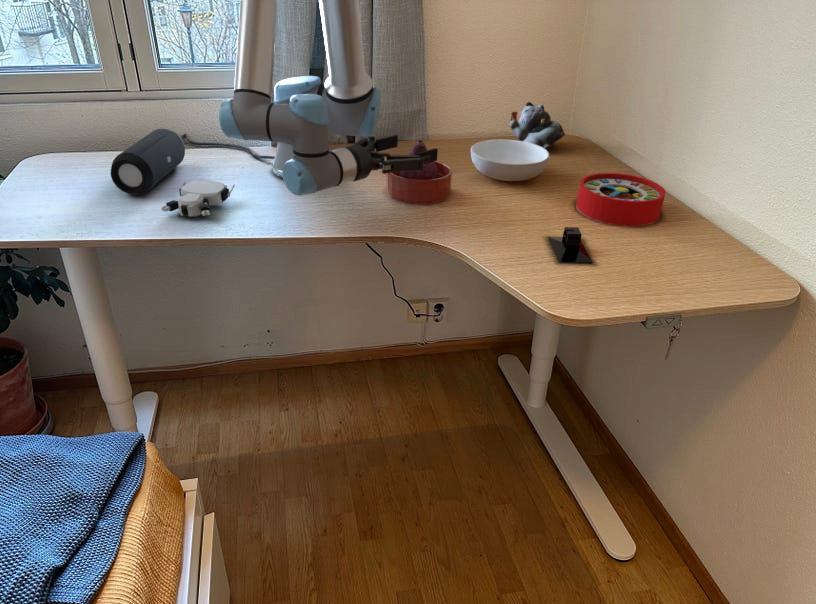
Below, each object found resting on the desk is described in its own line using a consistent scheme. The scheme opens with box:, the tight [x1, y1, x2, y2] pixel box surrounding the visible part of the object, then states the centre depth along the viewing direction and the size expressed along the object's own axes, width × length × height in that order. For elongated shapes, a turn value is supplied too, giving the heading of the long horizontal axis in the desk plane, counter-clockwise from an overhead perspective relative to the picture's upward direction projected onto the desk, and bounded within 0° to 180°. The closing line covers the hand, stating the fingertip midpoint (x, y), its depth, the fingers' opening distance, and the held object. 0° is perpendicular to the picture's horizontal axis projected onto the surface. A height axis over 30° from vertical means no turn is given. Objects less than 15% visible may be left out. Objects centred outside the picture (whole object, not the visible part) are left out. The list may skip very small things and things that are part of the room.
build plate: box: [547, 226, 594, 265], centre depth 139 cm, size 12×7×5 cm, turn 1°
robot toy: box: [160, 179, 236, 218], centre depth 150 cm, size 12×4×15 cm
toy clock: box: [575, 172, 666, 227], centre depth 159 cm, size 20×6×20 cm
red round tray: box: [385, 160, 453, 205], centre depth 163 cm, size 16×16×6 cm
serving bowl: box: [470, 138, 550, 182], centre depth 176 cm, size 21×21×7 cm
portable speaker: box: [110, 128, 186, 195], centre depth 163 cm, size 26×10×10 cm, turn 176°
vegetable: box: [399, 139, 439, 180], centre depth 160 cm, size 10×10×15 cm
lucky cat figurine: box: [509, 101, 566, 150], centre depth 199 cm, size 15×12×14 cm
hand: (416, 147), depth 158 cm, fingers open, 13 cm apart
